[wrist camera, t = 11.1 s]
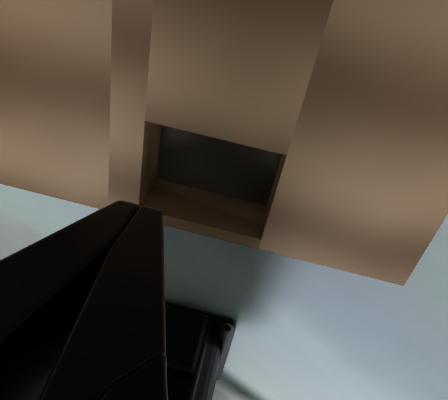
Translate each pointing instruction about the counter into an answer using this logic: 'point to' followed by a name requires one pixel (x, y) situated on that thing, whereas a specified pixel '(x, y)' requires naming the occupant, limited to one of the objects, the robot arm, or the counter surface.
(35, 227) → the counter surface
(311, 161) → the trap deck
